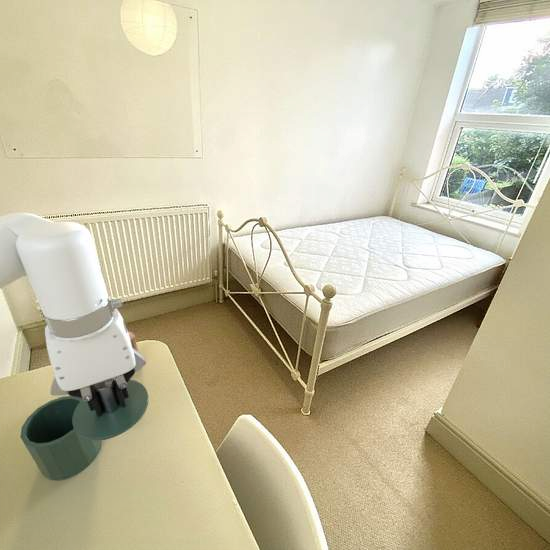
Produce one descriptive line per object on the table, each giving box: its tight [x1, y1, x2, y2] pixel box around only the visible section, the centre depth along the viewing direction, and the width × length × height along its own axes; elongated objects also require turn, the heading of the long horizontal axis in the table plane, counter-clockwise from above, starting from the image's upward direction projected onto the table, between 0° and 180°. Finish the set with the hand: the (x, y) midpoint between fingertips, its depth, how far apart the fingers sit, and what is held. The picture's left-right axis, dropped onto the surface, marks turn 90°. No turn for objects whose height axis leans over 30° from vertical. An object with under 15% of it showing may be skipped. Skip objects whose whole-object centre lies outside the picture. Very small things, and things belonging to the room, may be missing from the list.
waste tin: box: [20, 395, 102, 481], centre depth 59 cm, size 10×10×10 cm
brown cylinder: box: [128, 331, 139, 352], centre depth 80 cm, size 4×4×10 cm
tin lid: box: [72, 377, 150, 441], centre depth 49 cm, size 11×11×7 cm
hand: (111, 404), depth 50 cm, fingers closed on tin lid, 2 cm apart
